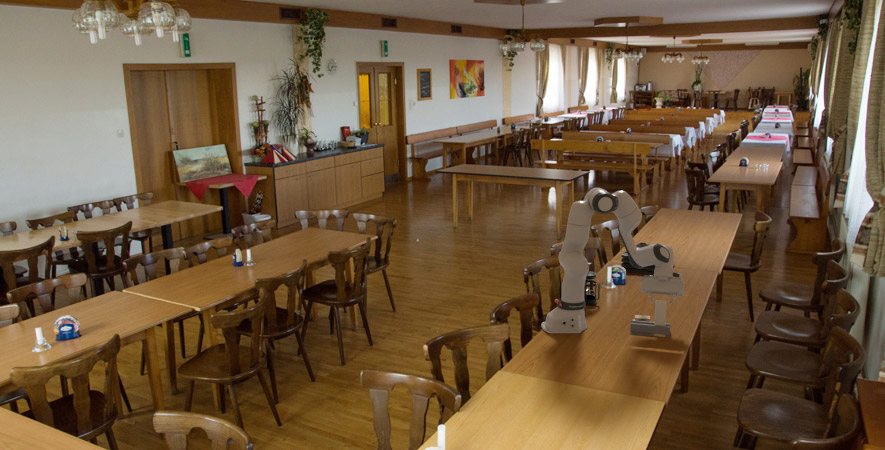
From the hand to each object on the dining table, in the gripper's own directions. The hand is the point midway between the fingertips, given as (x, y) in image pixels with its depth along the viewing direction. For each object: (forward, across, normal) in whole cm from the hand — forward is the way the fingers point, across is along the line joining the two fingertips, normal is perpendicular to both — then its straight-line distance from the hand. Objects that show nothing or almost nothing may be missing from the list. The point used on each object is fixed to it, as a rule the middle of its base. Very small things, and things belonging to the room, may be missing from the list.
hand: (661, 301), depth 320 cm
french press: (-12, -39, +34) cm, 53 cm away
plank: (+13, 0, +7) cm, 15 cm away
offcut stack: (+9, -9, +11) cm, 17 cm away
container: (-69, -14, +90) cm, 115 cm away
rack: (+12, -4, +9) cm, 16 cm away
